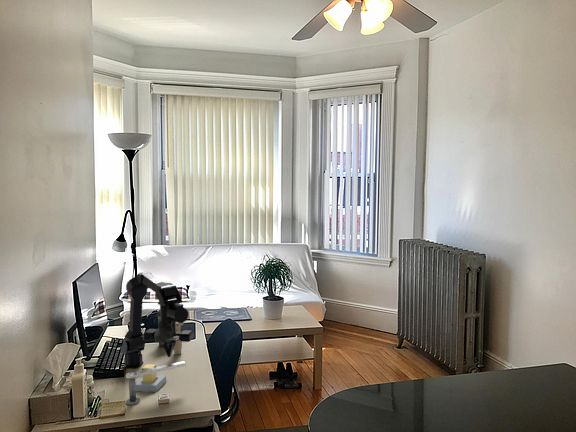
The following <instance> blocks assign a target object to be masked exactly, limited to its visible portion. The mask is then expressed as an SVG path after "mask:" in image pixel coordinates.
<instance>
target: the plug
mask: <svg viewBox="0 0 576 432" xmlns="http://www.w3.org/2000/svg"><path fill="white" fill-rule="evenodd" d="M155 367H157V364H151V363H150V364H148V363H146V364H145V365H143V367H141V371H142V370H146V369H151V368H155ZM141 377H142V380H143V383H154V382H155V381H156V380H157V372H155V373H151V374H147V375H143V376H141Z"/></svg>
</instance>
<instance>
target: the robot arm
mask: <svg viewBox="0 0 576 432" xmlns="http://www.w3.org/2000/svg"><path fill="white" fill-rule="evenodd" d="M125 289H126V294H127V295H128V297H129V298H130V302H129V303H130V306H129V322H128V323H129V325H128V326H129V327H128V330H127V332H126V334H125V335H124V341H123V342H122V344H121V346H120V352H121V354H123V355H124V365H126V368H127V369H128V368H129V369H138V368H139V367H141V366H142V365H143V364H144V361H143V354H142V351H145V346H146V341H152V339H153V338H154V340H155V341H154V342H155V343H158V344H159V343H161V344H162V345H163V348H164V351H165V353H166V356H167V357H168V358H170V357H172V354H173V352H174V346H175V344H176V342H177V341H178V340H180V341H181V342H182V343H189V342H190V341H192V340H193V339H194V338H195V331H193V330H190V329H184V330H182V331H181V333H176V331H177V328H176V322H178V323H183V322H184V323H185V322H186V321H187V320H188V317H189V311H188V309H186V308H185V307H184V304H183V297H182V295H181V293H180V291H179V289H178V287H177V285H176V284H174V283H171V282H164V281H163V280H161V279H159V278H158V277H156V276H155V275H154V274H152V272H151V271H143V272H139V273H137V274H136V276H134V277H132V278H131V279H128V281H126V285H125ZM148 289H150V290H151V291H153V292H154V293H155V296H154V297H156V299H157V300H158V302H157V305H159V310H160V320H161V321H160V322H159V326H158V327H157V328H149V329H147V330H145V331H144V332H143V331H142V319H143V318H142V317H143V316H142V315H143V300H144V299H145V297H146V296H147V294H148Z"/></svg>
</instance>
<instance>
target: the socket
mask: <svg viewBox="0 0 576 432" xmlns="http://www.w3.org/2000/svg"><path fill="white" fill-rule="evenodd" d="M135 381H136V380H135ZM165 383H167V375H157V380H156V381H155V382H154V383H143V380H142V376H140V377H139V379H137V381H136V392H137V391H138V392H151V393H152V392H153V393H154V392H155V393H156V392H157V391H159V390H160V389H161V388H162V387H163V386H164V385H165Z"/></svg>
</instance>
